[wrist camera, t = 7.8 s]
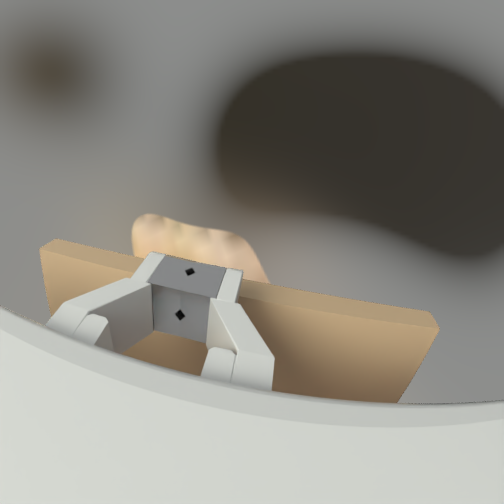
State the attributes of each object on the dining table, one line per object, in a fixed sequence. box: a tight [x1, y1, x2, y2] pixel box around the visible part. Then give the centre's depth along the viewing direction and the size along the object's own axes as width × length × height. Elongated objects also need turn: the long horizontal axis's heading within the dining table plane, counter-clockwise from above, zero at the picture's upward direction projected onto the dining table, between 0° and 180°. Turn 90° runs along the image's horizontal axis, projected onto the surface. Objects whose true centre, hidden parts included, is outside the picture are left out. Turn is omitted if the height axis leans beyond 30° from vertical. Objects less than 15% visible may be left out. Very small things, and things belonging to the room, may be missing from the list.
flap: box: [40, 239, 440, 403], centre depth 13 cm, size 16×1×11 cm
